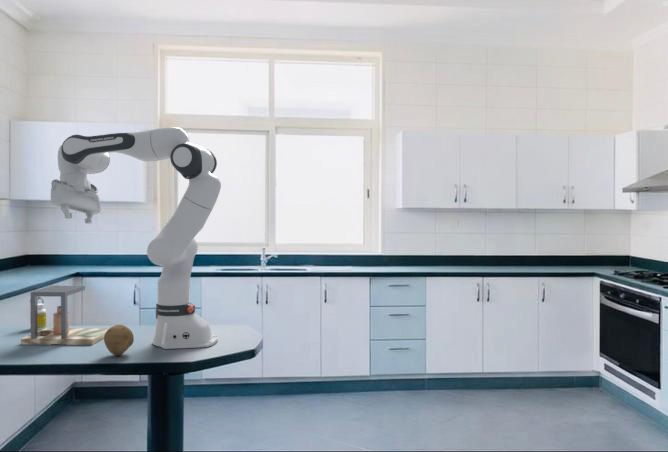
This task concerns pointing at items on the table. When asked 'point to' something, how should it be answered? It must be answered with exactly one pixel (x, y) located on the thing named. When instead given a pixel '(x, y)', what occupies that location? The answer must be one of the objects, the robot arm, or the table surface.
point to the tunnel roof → (63, 293)
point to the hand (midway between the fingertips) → (78, 220)
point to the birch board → (74, 338)
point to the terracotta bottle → (58, 321)
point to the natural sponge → (118, 339)
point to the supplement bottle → (41, 316)
